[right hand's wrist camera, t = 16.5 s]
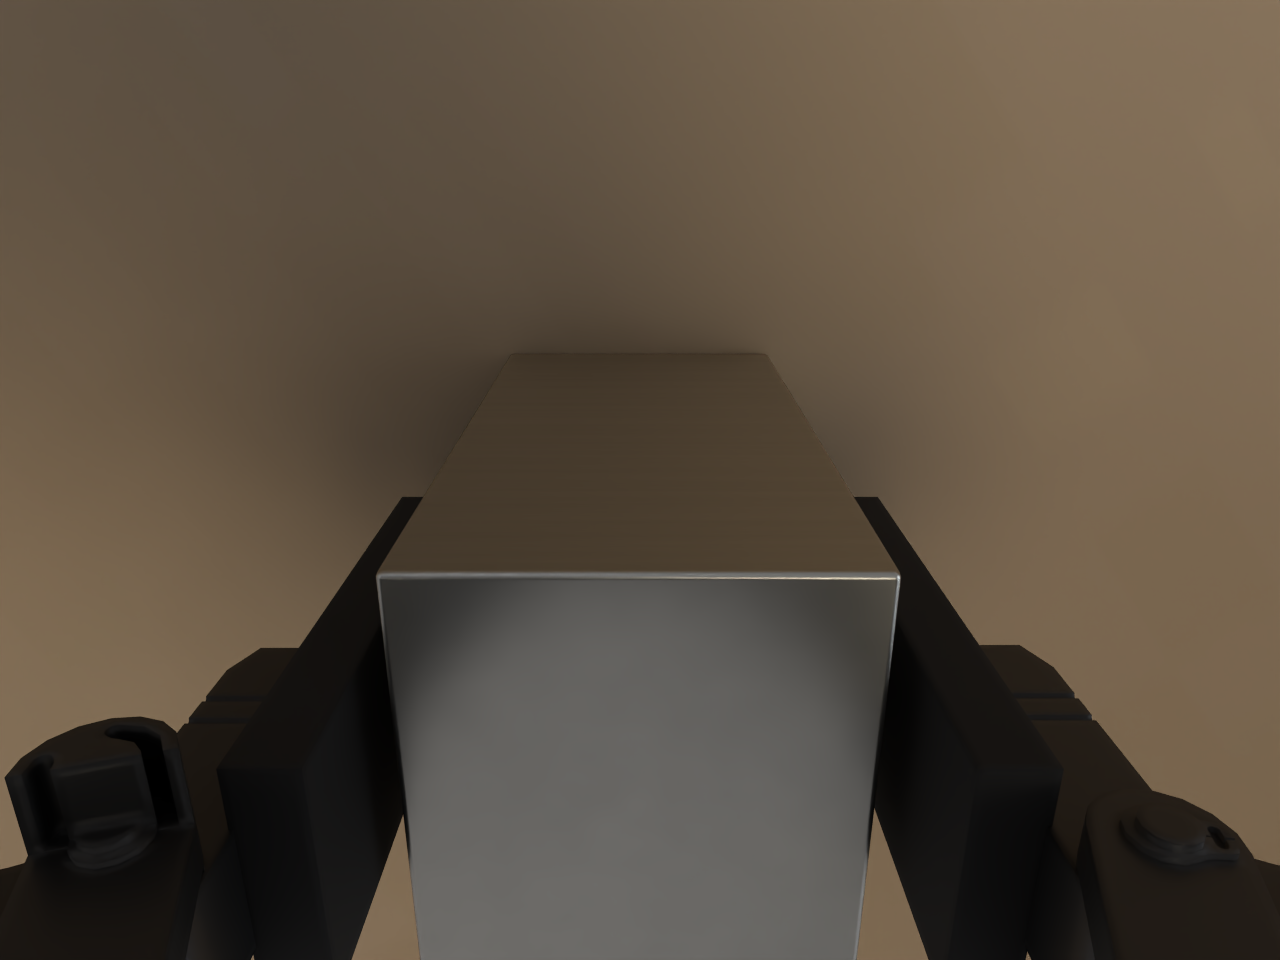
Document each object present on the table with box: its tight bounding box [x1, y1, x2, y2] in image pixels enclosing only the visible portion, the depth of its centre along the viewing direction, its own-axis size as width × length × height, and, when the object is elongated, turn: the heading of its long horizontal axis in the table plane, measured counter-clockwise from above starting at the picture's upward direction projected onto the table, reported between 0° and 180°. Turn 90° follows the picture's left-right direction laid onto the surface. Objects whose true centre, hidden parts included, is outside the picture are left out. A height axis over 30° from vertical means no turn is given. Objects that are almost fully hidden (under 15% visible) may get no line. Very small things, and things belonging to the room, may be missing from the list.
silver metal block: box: [376, 354, 901, 960], centre depth 14 cm, size 5×5×10 cm
